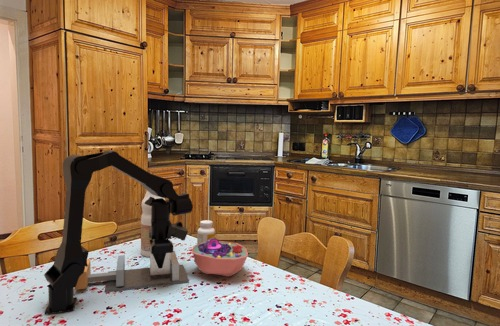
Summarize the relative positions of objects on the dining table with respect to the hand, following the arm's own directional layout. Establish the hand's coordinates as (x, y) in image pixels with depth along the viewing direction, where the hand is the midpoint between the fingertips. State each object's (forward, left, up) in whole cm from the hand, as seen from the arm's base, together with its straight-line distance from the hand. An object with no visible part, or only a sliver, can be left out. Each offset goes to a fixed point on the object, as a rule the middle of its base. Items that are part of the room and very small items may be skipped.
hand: (159, 265), depth 106 cm
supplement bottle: (+16, -18, -4) cm, 25 cm away
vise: (0, +4, -4) cm, 5 cm away
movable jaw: (0, +17, -3) cm, 17 cm away
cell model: (-2, -19, -4) cm, 20 cm away
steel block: (0, 0, -2) cm, 2 cm away
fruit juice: (+22, +1, -4) cm, 22 cm away
